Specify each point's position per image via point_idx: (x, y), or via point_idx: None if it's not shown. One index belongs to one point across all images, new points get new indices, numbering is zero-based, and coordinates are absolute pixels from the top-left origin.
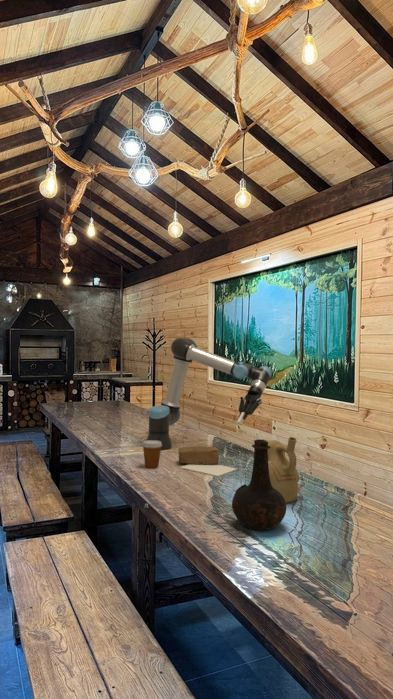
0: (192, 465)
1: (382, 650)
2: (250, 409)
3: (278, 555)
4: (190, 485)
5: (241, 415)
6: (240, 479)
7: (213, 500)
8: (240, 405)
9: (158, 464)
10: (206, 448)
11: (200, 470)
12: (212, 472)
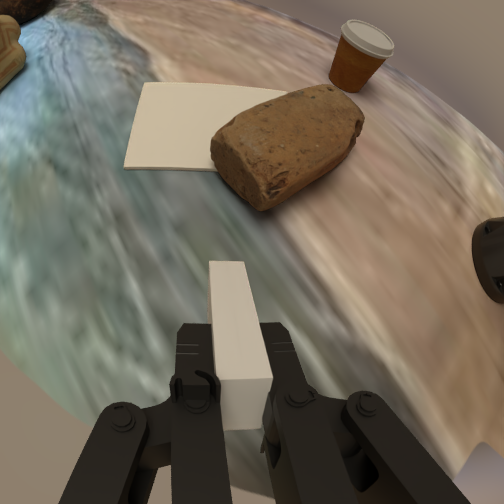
0: None
1: None
2: (112, 458)
3: None
4: (173, 29)
5: (239, 324)
6: (82, 104)
7: (100, 15)
8: (429, 484)
9: (335, 79)
10: (271, 118)
11: (217, 90)
12: (175, 93)
